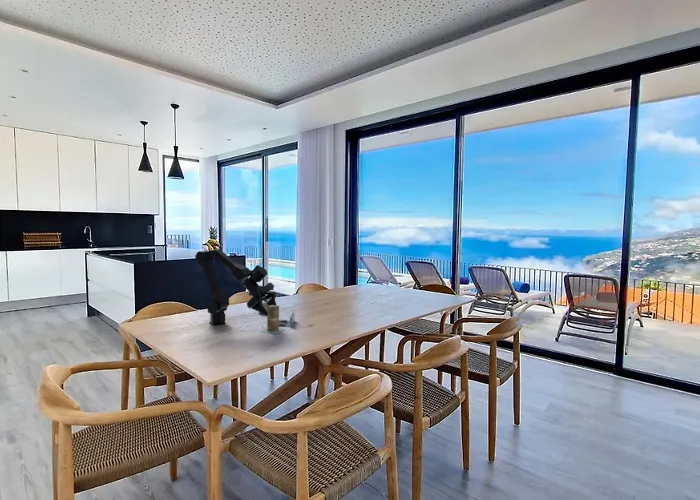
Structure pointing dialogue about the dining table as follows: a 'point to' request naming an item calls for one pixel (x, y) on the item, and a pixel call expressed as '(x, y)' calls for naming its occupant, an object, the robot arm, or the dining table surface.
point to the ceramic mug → (264, 305)
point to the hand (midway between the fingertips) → (272, 312)
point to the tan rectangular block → (273, 318)
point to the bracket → (287, 322)
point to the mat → (273, 332)
